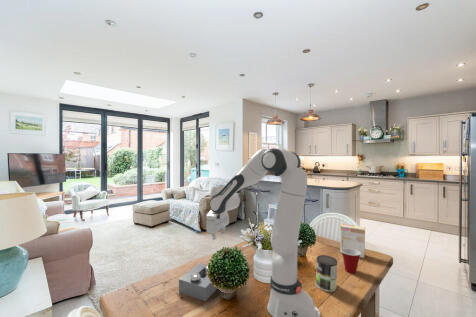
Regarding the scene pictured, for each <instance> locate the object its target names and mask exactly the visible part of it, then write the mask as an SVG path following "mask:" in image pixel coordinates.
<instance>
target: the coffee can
mask: <svg viewBox="0 0 476 317" xmlns="http://www.w3.org/2000/svg"><path fill="white" fill-rule="evenodd" d="M337 272H338V260H337V259H336V258H335V257H334V256H330V255H326V254H325V255H324V254H319V255H317V256H316V273H315V274H316V275H315V276H316V277H315V278H316V279H315V286H316V287H317V288H319V290H321V291H324V292H328V293H330V292H335V291H336V290H337V283H338V282H337V281H338V280H337V278H338V277H337V275H338V273H337Z"/></svg>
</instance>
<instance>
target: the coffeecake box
mask: <svg viewBox="0 0 476 317" xmlns="http://www.w3.org/2000/svg"><path fill="white" fill-rule="evenodd" d="M339 234H340V235H339V236H340V239H339V240H340V243H339V244H340V245H339V253H340V254H342V252H341V249H345V248H348V249H354V250H357V251H359V252H361V254H360V257H359V259H360V258H361V259H365V254H366V252H365V250H366V226H360V225H354V224H346V223H341V225H340V233H339Z"/></svg>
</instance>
